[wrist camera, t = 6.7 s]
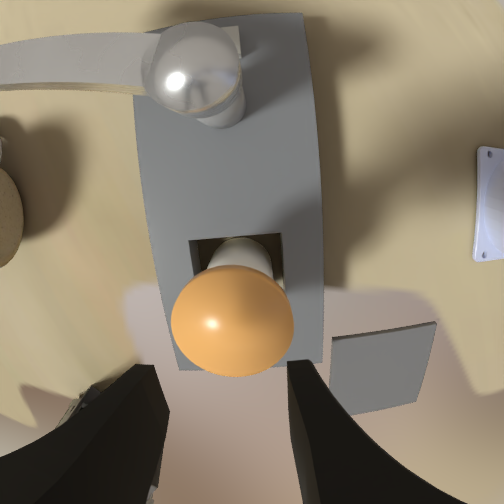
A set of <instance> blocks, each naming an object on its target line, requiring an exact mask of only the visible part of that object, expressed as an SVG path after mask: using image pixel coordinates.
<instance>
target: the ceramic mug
mask: <svg viewBox="0 0 504 504" xmlns="http://www.w3.org/2000/svg"><path fill="white" fill-rule="evenodd" d="M1 158H2V141H1V138H0V163H1ZM23 225H24V218H23V207H22V202H21V198H20V195H19V192H18V190H17V188H16V186H15V183H14V182H13V180H12V179H11V177H10V176H9V175H8V174H7V173H6V172H5V171H4V170H3V169H1V168H0V268H1V267H3V266H5V265H6V264H7V263H8V262H9V261H10V260H11V259H12V258H13V257H14V255H15V253H16V252H17V250H18V248H19V245H20V242H21V239H22V233H23Z"/></svg>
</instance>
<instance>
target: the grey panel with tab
mask: <svg viewBox="0 0 504 504" xmlns="http://www.w3.org/2000/svg"><path fill="white" fill-rule="evenodd" d="M196 22H205V23H209V24H213V25H215V26H217V27H219V28H221V29H222V30H224V31H225V32H226V33H227V34H228V35H229V36H230V37H231V38H232V40H233V42H234V43H235V46H236V48H237V52H238V56H239V61H240V65H241V70H242V77H243V79H242V87H241V90H240V93H239V95H238V97H237V98H236V100H235V101H234V102H233V103H232V104H231V106H229V107H228V108H227V109H226V110H224V111H223V112H221V113H219V114H217V115H215V116H212V117H208V118H202V119H196V118H189V117H186V116H183V115H181V114H179V113H177V112H174V111H172V110H170V109H168V108H166V107H164V106H162V105H160V104H158V103H157V102H155V101H154V100H153V99H152V98H151V97H150V96H142V95H133V104H134V118H135V130H136V141H137V151H138V160H139V169H140V177H141V184H142V192H143V199H144V206H145V213H146V219H147V225H148V231H149V237H150V243H151V248H152V254H153V259H154V264H155V269H156V274H157V279H158V284H159V289H160V294H161V298H162V303H163V307H164V311H165V316H166V320H167V324H168V328H169V332H170V336H171V340H172V344H173V348H174V351H175V356H176V359H177V363H178V367H179V370H204V369H202V368H200V367H199V366H197V365H195V364H194V363H193V362H191V361H190V360H189V359H188V358H187V357H186V356H185V355H184V354H183V353H182V351H181V350H180V348H179V347H178V345H177V343H176V341H175V339H174V336H173V333H172V328H171V315H172V310H173V307H174V304H175V302H176V300H177V298H178V296H179V294H180V293H181V291H182V289H183V288H184V286H185V285H186V284H187V283H188V282H189V281H190V280H191V279H192V278H193V277H194V276H196V275H197V274H199V273H200V272H202V271H201V265H200V258H199V251H198V244H197V240H199V239H210V238H222V237H233V236H245V235H258V234H270V233H280V240H281V256H282V272H283V289H284V292H285V294H286V295H287V298H288V300H289V302H290V306H291V309H292V314H293V320H294V334H293V339H292V342H291V345H290V347H289V349H288V350H287V352H286V353H285V355H284V356H283V357H282V358H281V359H280V360H279V361H278V362H277V363H276V364H274V365H273V366H272V367H284V366H287V361H293V360H304V359H309V360H310V361H312V363H313V364H315V363H322V357H323V356H322V355H323V321H324V320H323V319H324V253H323V218H322V195H321V177H320V162H319V148H318V136H317V124H316V114H315V104H314V94H313V85H312V77H311V69H310V61H309V54H308V46H307V40H306V33H305V26H304V20H303V14H302V13H270V14H254V15H242V16H232V17H223V18H216V19H209V20H202V21H196ZM170 27H173V26H170ZM170 27H166V28H161V29H157V30H153V31H149V32H145V33H154V34H161V33H162V32H164V31H165V30H167V29H169V28H170ZM270 368H271V367H270Z"/></svg>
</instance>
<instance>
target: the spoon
mask: <svg viewBox="0 0 504 504" xmlns="http://www.w3.org/2000/svg"><path fill="white" fill-rule="evenodd" d="M242 79H243V77H242V70H241V65H240V61H239V56H238V52H237V48H236V46H235V43H234V42H233V40H232V38H231V37H230V36H229V35H228V34H227V33H226V32H225V31H224V30H222V29H221V28H219V27H217V26H215V25H213V24H209V23H205V22H186V23H181V24H178V25H175V26H173V27H170V28H169V29H167V30H165V31H164V32H162V33H161V34H154V33H86V34H72V35H61V36H52V37H44V38H36V39H30V40H24V41H18V42H13V43H8V44H3V45H0V91H11V90H81V91H99V92H112V93H123V94H133V95H142V96H150V97H151V98H152V99H153V100H154V101H155V102H157V103H158V104H160V105H162V106H164V107H166V108H168V109H170V110H172V111H174V112H177V113H179V114H181V115H183V116H186V117H189V118H196V119H202V118H208V117H212V116H215V115H217V114H219V113H221V112H223V111H224V110H226V109H227V108H228V107H229V106H231V104H232V103H233V102H234V101H235V100H236V98H237V97H238V95H239V93H240V90H241V87H242Z"/></svg>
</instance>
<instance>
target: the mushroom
mask: <svg viewBox="0 0 504 504" xmlns="http://www.w3.org/2000/svg"><path fill="white" fill-rule="evenodd" d="M171 328H172V333H173V336H174V339H175V341H176V343H177V345H178V347H179V348H180V350H181V351H182V353H183V354H184V355H185V356H186V357H187V358H188V359H189V360H190V361H191V362H193V363H194V364H195V365H197V366H199V367H200V368H202V369H204V370H206V371H209V372H211V373H214V374H218V375H222V376H229V377H241V376H249V375H253V374H257V373H260V372H262V371H264V370H267V369H268V368H270V367H272V366H273V365H274V364H276V363H277V362H278V361H279V360H280V359H281V358H282V357H283V356H284V355H285V353H286V352H287V350H288V349H289V347H290V345H291V342H292V339H293V334H294V320H293V314H292V309H291V306H290V302H289V300H288V298H287V295H286V294H285V292H284V291H283V289H282V288H281V287H280V286H279V284H278V283H276V282H275V281H274V280H273V271H272V263H271V258H270V256H269V253H268V252H267V250H266V249H265V248H264V247H263V246H262V245H261V244H260V243H258V242H257V241H255V240H252V239H249V238H244V237H238V238H232V239H229V240H227V241H225V242H223V243H222V244H221V245H220V246H219V247H218V248H217V249H216V250H215V252H214V254H213V256H212V258H211V261H210V263H209V265H208V267H207V270H204V271H202V272H200V273H199V274H197V275H196V276H194V277H193V278H192V279H191V280H190V281H189V282H188V283H187V284H186V285H185V286H184V288H183V289H182V291H181V293H180V294H179V296H178V298H177V300H176V302H175V304H174V307H173V310H172V315H171Z"/></svg>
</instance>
